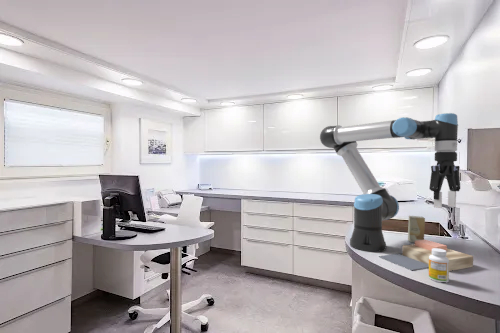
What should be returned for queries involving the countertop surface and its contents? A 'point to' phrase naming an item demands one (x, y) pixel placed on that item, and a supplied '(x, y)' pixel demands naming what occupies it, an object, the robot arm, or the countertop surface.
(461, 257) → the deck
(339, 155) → the robot arm
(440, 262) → the supplement bottle
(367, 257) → the countertop surface
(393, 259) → the mat
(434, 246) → the salmon pink rectangular block
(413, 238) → the skincare box
